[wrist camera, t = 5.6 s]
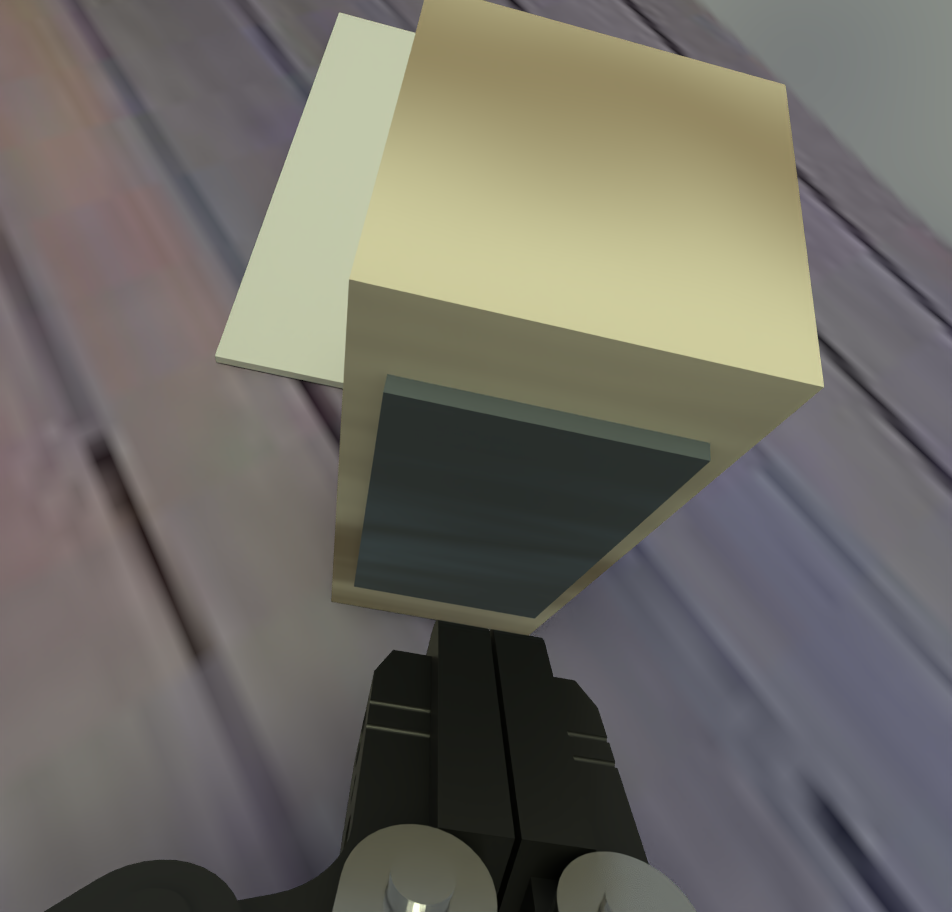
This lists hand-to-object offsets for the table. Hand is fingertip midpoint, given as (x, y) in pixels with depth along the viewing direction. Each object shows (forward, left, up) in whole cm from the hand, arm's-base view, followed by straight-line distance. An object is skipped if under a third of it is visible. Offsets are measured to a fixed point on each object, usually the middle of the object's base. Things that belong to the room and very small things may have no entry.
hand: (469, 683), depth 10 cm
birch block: (-2, +5, -7) cm, 9 cm away
